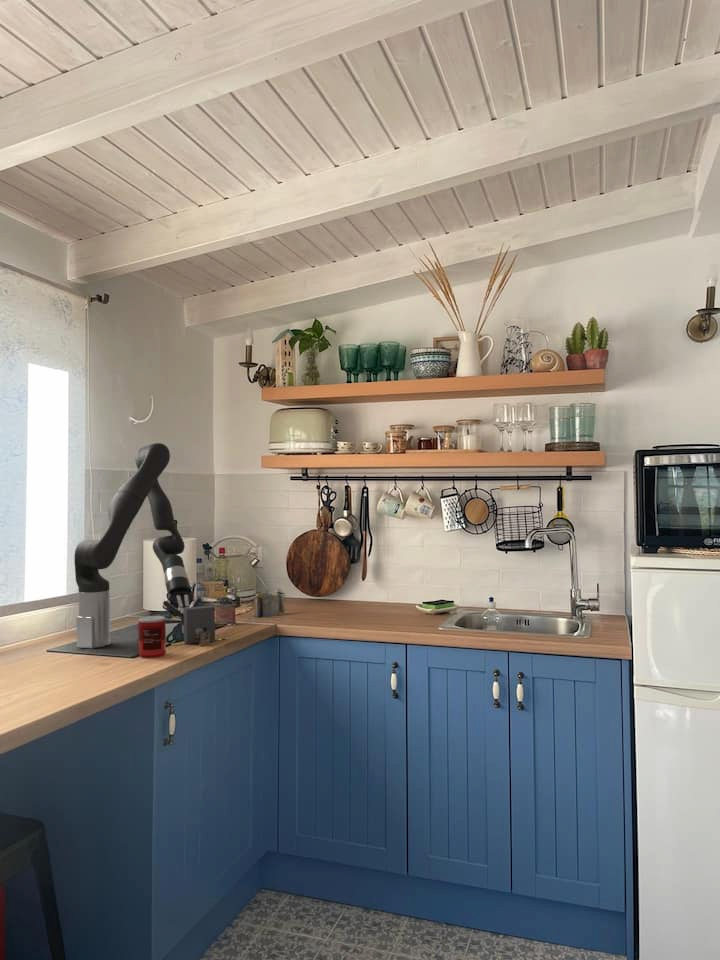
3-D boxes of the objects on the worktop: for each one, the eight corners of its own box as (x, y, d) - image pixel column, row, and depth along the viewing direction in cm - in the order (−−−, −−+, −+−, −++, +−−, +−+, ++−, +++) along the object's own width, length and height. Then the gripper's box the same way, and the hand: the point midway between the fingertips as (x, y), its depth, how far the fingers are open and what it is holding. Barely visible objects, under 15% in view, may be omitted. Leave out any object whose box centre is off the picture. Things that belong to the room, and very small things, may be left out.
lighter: (237, 624, 267) (237, 596, 267) (233, 625, 264) (233, 597, 264) (217, 623, 269) (217, 595, 269) (213, 625, 266) (212, 597, 266)
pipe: (159, 636, 246) (159, 623, 246) (212, 630, 254) (212, 618, 254) (176, 649, 226) (176, 635, 226) (233, 642, 234) (233, 629, 234)
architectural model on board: (257, 618, 280) (257, 593, 280) (254, 617, 283) (254, 592, 283) (285, 615, 286) (284, 590, 286) (281, 614, 288) (281, 589, 289)
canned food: (155, 651, 223) (154, 614, 223) (171, 654, 218) (170, 617, 218) (133, 656, 217) (132, 618, 217) (149, 659, 212) (148, 621, 212)
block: (183, 641, 235) (183, 607, 235) (211, 638, 239) (211, 605, 240) (187, 643, 232) (186, 609, 232) (215, 640, 236) (214, 607, 236)
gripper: (158, 577, 242) (168, 620, 231) (198, 574, 248) (209, 616, 237) (155, 591, 247) (164, 634, 236) (194, 588, 253) (205, 629, 242)
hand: (187, 625), depth 236 cm, fingers closed
